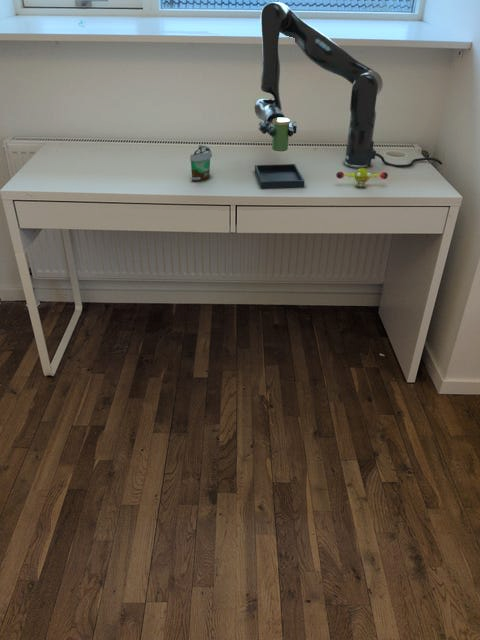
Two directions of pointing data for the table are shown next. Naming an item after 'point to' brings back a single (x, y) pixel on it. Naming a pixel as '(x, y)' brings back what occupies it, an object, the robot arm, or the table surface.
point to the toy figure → (362, 176)
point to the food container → (200, 164)
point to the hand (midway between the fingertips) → (282, 133)
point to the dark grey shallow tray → (279, 176)
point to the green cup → (280, 134)
